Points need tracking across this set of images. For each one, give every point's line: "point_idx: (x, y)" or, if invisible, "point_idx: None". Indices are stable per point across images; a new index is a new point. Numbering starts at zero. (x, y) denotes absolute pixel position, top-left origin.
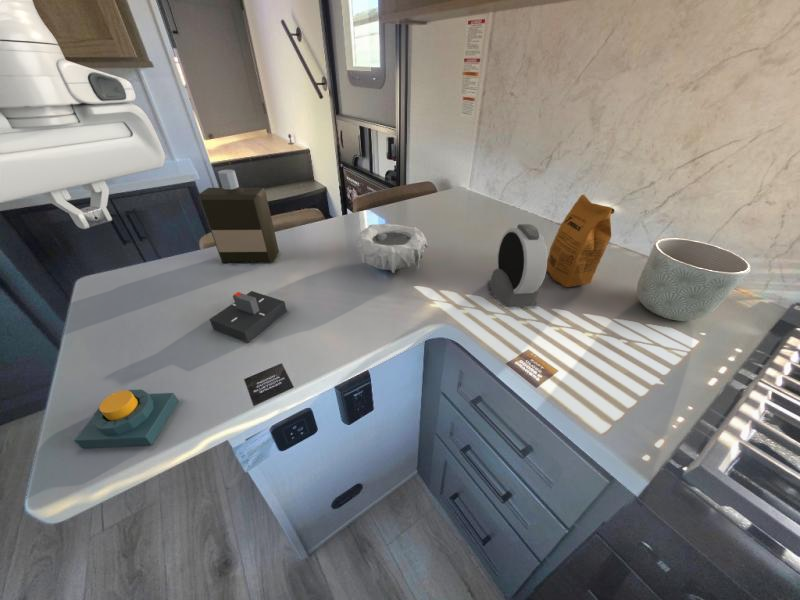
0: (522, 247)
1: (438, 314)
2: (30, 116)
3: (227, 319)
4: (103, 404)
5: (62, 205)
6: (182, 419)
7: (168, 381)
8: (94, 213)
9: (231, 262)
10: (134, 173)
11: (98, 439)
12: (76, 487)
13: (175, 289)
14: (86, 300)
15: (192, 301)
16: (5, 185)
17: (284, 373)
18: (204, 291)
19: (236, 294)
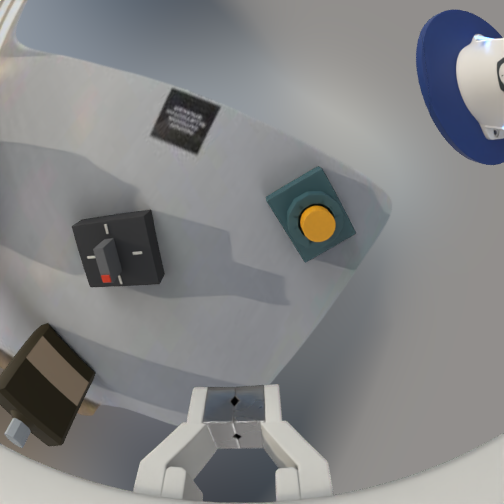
0: None
1: (3, 55)
2: None
3: (143, 261)
4: (328, 234)
5: (314, 451)
6: (280, 167)
7: (253, 238)
8: (231, 413)
9: (86, 364)
10: (36, 461)
11: (345, 212)
12: (374, 189)
13: (158, 375)
14: None
15: (154, 343)
16: (466, 499)
17: (161, 117)
18: (134, 347)
19: (107, 278)
